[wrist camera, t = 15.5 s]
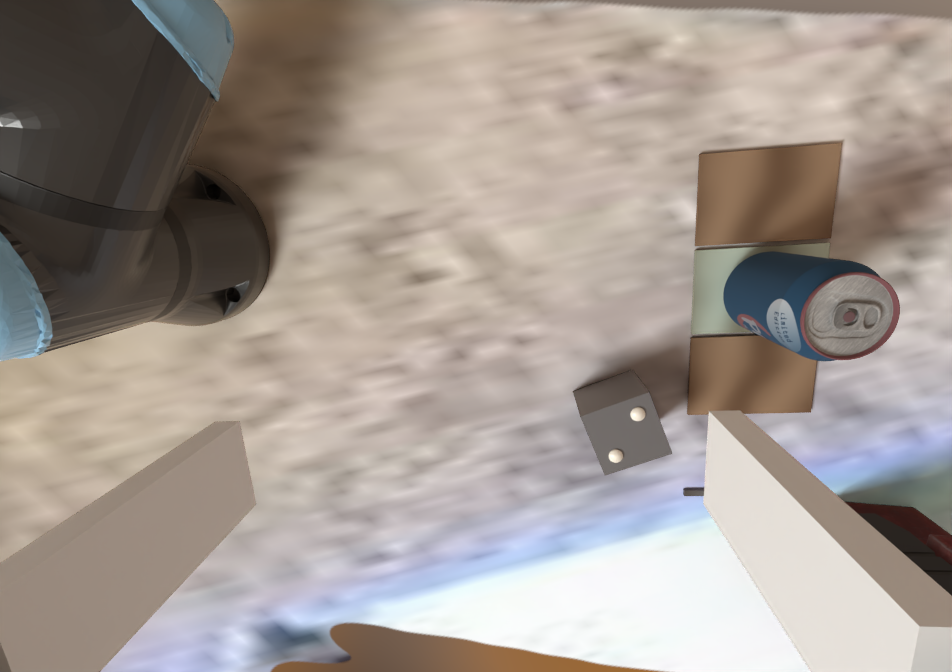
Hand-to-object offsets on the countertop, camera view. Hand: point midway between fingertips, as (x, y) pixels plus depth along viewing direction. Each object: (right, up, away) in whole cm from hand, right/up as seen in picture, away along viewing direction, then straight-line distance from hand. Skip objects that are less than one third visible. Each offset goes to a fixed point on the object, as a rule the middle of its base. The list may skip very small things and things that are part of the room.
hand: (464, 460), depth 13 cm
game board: (+26, +4, +29) cm, 39 cm away
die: (+14, -4, +32) cm, 35 cm away
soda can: (+25, +8, +28) cm, 39 cm away
